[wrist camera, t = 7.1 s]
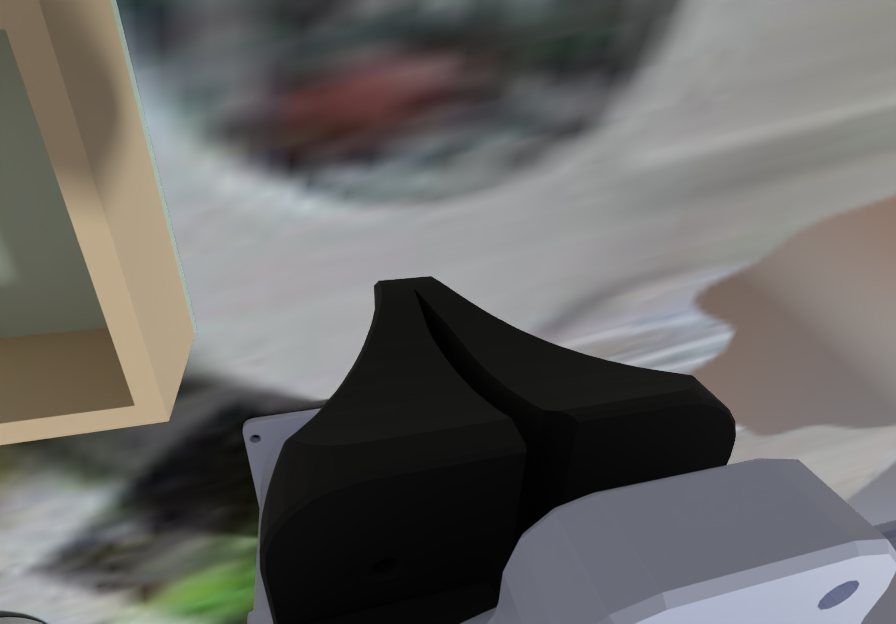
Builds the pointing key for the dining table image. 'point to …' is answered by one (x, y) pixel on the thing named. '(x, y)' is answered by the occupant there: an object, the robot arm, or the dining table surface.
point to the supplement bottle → (17, 621)
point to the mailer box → (82, 232)
